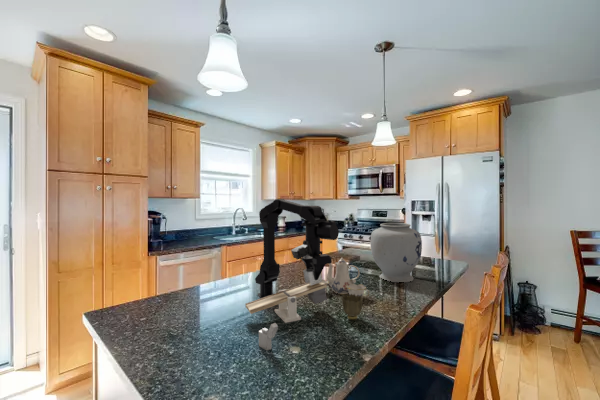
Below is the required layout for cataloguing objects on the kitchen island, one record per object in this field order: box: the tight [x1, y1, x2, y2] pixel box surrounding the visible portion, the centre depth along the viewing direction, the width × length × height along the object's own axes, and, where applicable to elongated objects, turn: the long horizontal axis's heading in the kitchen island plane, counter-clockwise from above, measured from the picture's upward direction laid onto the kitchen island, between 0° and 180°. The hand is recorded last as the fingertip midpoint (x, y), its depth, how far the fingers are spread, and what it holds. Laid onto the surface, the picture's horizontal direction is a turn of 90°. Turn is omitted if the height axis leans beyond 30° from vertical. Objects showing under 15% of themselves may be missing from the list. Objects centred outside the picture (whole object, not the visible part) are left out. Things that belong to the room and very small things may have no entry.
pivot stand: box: [274, 288, 302, 324], centre depth 107 cm, size 12×6×8 cm, turn 25°
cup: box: [341, 294, 364, 321], centre depth 103 cm, size 8×7×8 cm
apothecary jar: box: [370, 222, 423, 283], centre depth 157 cm, size 27×27×30 cm
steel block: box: [302, 267, 323, 285], centre depth 111 cm, size 5×5×5 cm
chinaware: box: [322, 257, 370, 298], centre depth 132 cm, size 28×17×17 cm, turn 67°
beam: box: [244, 282, 328, 315], centre depth 107 cm, size 7×30×6 cm, turn 115°
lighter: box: [258, 322, 279, 351], centre depth 83 cm, size 7×2×8 cm, turn 45°
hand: (313, 278), depth 111 cm, fingers closed on steel block, 5 cm apart
